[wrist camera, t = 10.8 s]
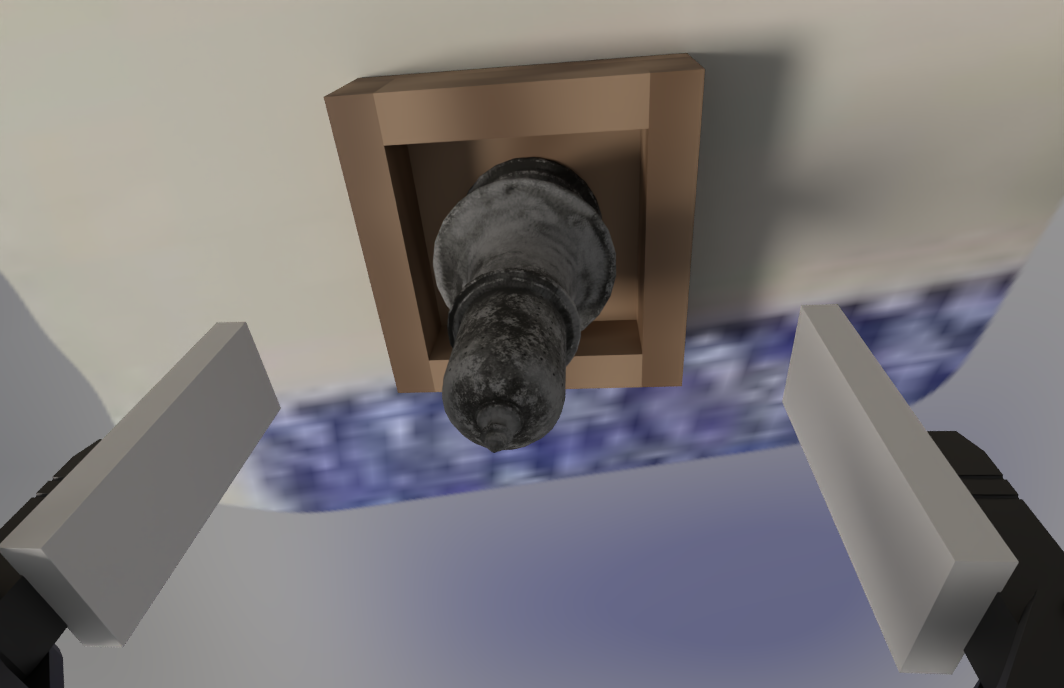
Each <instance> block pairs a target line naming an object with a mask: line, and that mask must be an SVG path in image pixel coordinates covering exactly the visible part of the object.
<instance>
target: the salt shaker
mask: <svg viewBox="0 0 1064 688" xmlns="http://www.w3.org/2000/svg"><path fill="white" fill-rule="evenodd" d="M433 268H434V273H435V278H436V283H437V287H438V289H439V291H440V293H441V295H442V297H443V299H444V301H445V303H446V305H447V306H448V307H449V309H450V311H449V315H448V324H447V330H448V336H449V341H450V344H451V346H452V348H453V349H452V352H451V355H450V359H449V362H448V365H447V368H446V371H445V374H444V378H443V386H442V399H443V404H444V409H445V412H446V414H447V416H448V418H449V419H450V421H451V423H452V424H453V425H454V426H455V427H456V428H457V429H458V430H459V432H460V433H461V434H462V435H464V436H465V437H466V438H468V439H469V440H471V441H472V442H474V443H475V444H478V445H481V446H483V447H486V448H487V449H489V450H490V451H491V452H493V453H495V452H498V451H501V450H513V449H517V448H521V447H525V446H527V445H529V444H531V443H533V442H535V441H537V440H539V439H541V438H543V437H544V436H545V435H546V434H547V433H548V432H549V431H551V430H552V429H553V427H554V425H555V424H556V422H557V421H558V419H559V417H560V415H561V412H562V409H563V405H564V401H565V387H566V366H567V365H568V364H569V363H570V362H571V360H572V358H573V357H574V355H575V354H576V352H577V350H578V346H579V342H580V338H581V331H582V330H584V329H585V328H586V327H587V326H588V325H589V324H590V323H591V322H592V321H593V320H595V319H596V318H597V317H598V316H599V315H600V313H601V311H602V310H603V308H604V306H605V305H606V303H607V301H608V300H609V298H610V296H611V293H612V289H613V285H614V282H615V278H616V252H615V248H614V245H613V242H612V239H611V236H610V233H609V230H608V228H607V227H606V225H605V224H604V222H603V221H602V215H601V211H600V208H599V205H598V202H597V199H596V197H595V195H594V194H593V192H592V191H591V189H590V188H589V186H588V185H587V183H586V182H585V181H584V180H583V179H582V178H581V177H579V176H578V175H577V174H576V173H575V172H574V171H573V170H571V169H570V168H568V167H566V166H564V165H561V164H559V163H557V162H555V161H553V160H548V159H543V158H537V157H525V158H514V159H511V160H508V161H505V162H503V163H500V164H497V165H495V166H494V167H492V168H491V169H489V170H488V171H487V172H485V173H484V174H482V175H481V176H480V177H479V178H478V179H477V181H476V182H475V183H474V185H473V186H472V187H471V188H470V190H469V191H468V193H467V196H466V197H464V198H463V199H462V200H460V201H459V202H458V203H457V204H456V205H455V207H454V208H453V209H452V210H451V212H450V213H449V214H448V215H447V217H446V218H445V219H444V221H443V223H442V225H441V228H440V230H439V233H438V235H437V238H436V240H435V245H434V256H433Z"/></svg>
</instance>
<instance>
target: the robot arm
mask: <svg viewBox="0 0 1064 688" xmlns="http://www.w3.org/2000/svg"><path fill="white" fill-rule="evenodd" d="M782 402H783V404H784V407H785V409H786V411H787V414H788V416H789V418H790V421H791V423H792V425H793V428H794V430H795V432H796V434H797V437H798V439H799V441H800V444H801V446H802V448H803V451H804V453H805V455H806V458H807V460H808V462H809V464H810V467H811V469H812V471H813V474H814V476H815V478H816V481H817V483H818V485H819V488H820V490H821V492H822V494H823V497H824V499H825V501H826V504H827V506H828V508H829V510H830V513H831V515H832V518H833V520H834V522H835V525H836V527H837V529H838V532H839V534H840V536H841V538H842V541H843V543H844V545H845V548H846V550H847V552H848V555H849V557H850V559H851V562H852V564H853V566H854V569H855V571H856V573H857V575H858V578H859V580H860V582H861V585H862V587H863V589H864V592H865V594H866V596H867V599H868V601H869V603H870V606H871V608H872V610H873V612H874V615H875V617H876V619H877V622H878V624H879V626H880V628H881V631H882V633H883V635H884V638H885V640H886V642H887V645H888V647H889V649H890V652H891V654H892V656H893V659H894V661H895V663H896V666H897V668H898V670H899V672H900V673H926V674H953V672H954V670H955V669H956V667H957V665H958V664H959V662H960V660H961V659H962V657H963V655H964V654H966V656H967V658H968V660H969V662H970V663H971V665H972V667H973V669H974V671H975V673H976V674H977V676H978V678H979V680H978V682H977V683H976V685H975V687H974V688H1064V551H1063V550H1062V549H1061V548H1060V547H1059V545H1058V544H1057V543H1056V541H1055V540H1054V539H1053V538H1052V536H1051V535H1050V534H1049V533H1048V531H1047V530H1046V529H1045V528H1044V526H1043V525H1042V524H1041V523H1040V521H1039V520H1038V519H1037V518H1036V516H1035V515H1034V514H1033V512H1032V511H1031V510H1030V509H1029V507H1028V506H1027V505H1026V504H1025V502H1024V501H1023V500H1022V499H1019V498H1018V494H1017V492H1016V491H1015V490H1014V488H1013V487H1012V486H1011V484H1010V483H1009V482H1008V481H1007V480H1004V479H1003V474H1002V473H1001V472H1000V471H999V469H998V468H997V467H996V465H995V464H994V463H993V462H992V460H991V459H990V458H989V457H988V455H987V454H986V453H985V452H984V451H983V450H982V449H980V448H979V447H978V446H976V445H975V444H973V443H972V442H971V441H969V440H968V439H966V438H965V437H964V436H962V435H961V434H959V433H958V432H957V431H926V430H925V428H924V427H923V425H922V424H921V423H920V421H919V420H918V418H917V417H916V415H915V414H914V412H913V411H912V410H911V408H910V407H909V405H908V404H907V402H906V401H905V400H904V398H903V397H902V395H901V394H900V393H899V391H898V390H897V388H896V387H895V385H894V384H893V383H892V381H891V380H890V378H889V377H888V376H887V374H886V373H885V371H884V370H883V368H882V367H881V366H880V364H879V363H878V361H877V360H876V358H875V357H874V356H873V354H872V353H871V351H870V350H869V349H868V347H867V346H866V344H865V343H864V341H863V340H862V339H861V337H860V336H859V334H858V333H857V331H856V330H855V329H854V327H853V326H852V324H851V323H850V322H849V320H848V319H847V317H846V316H845V314H844V313H843V312H842V310H841V309H840V307H839V306H838V304H830V305H801V309H800V315H799V320H798V325H797V330H796V335H795V340H794V345H793V350H792V355H791V360H790V365H789V370H788V375H787V380H786V385H785V390H784V395H783V400H782ZM280 409H281V407H280V405H279V402H278V400H277V397H276V395H275V393H274V390H273V388H272V385H271V383H270V380H269V378H268V375H267V373H266V370H265V368H264V365H263V363H262V360H261V358H260V355H259V353H258V350H257V348H256V346H255V343H254V341H253V338H252V336H251V333H250V331H249V328H248V326H247V323H246V322H222V323H216V324H215V325H214V326H213V327H212V328H211V329H210V330H209V331H208V332H207V333H206V334H205V335H204V336H203V337H202V338H201V339H200V340H199V341H198V342H197V343H196V344H195V345H194V346H193V347H192V348H191V349H190V350H189V351H188V352H187V354H186V355H185V356H184V357H183V358H182V359H181V360H180V361H179V362H178V363H177V364H176V365H175V366H174V367H173V368H172V369H171V370H170V371H169V372H168V373H167V374H166V375H165V376H164V377H163V378H162V379H161V380H160V381H159V382H158V383H157V384H156V385H155V386H154V387H153V388H152V389H151V390H150V391H149V392H148V393H147V394H146V395H145V396H144V397H143V398H142V399H141V400H140V401H139V402H138V404H137V405H136V406H135V407H134V408H133V409H132V410H131V411H130V412H129V413H128V414H127V415H126V416H125V417H124V418H123V419H122V420H121V421H120V422H119V423H118V424H117V425H116V426H115V427H114V428H113V429H112V430H111V431H110V432H109V433H108V434H107V435H106V436H105V437H104V438H103V439H99V440H98V441H96V442H95V443H93V444H91V445H90V446H88V447H87V448H85V449H84V450H82V451H81V452H79V453H78V454H76V455H75V456H73V457H72V458H71V459H70V460H69V461H68V462H67V463H66V464H65V465H64V466H63V467H62V468H61V469H60V470H59V471H58V472H57V473H56V474H55V475H54V476H53V480H52V481H48V482H47V483H46V484H45V485H44V486H43V487H42V488H41V489H40V490H39V491H38V492H37V493H36V494H37V495H36V497H35V498H31V499H30V500H29V501H28V502H27V503H26V504H25V505H24V506H23V507H22V508H21V509H20V510H19V511H18V512H17V513H16V514H15V515H14V516H13V517H12V518H11V519H10V520H9V521H8V522H7V523H6V524H5V525H4V526H3V527H2V528H1V529H0V688H64V674H63V657H62V654H61V652H60V649H59V648H58V647H57V646H56V645H55V642H56V641H57V640H58V638H59V637H60V636H61V634H62V633H63V632H64V630H65V629H66V628H68V629H69V630H70V631H71V632H72V633H73V634H74V635H75V636H76V638H77V639H78V640H79V641H80V642H81V643H82V644H83V645H84V646H99V647H124V645H125V644H126V642H127V641H128V639H129V638H130V636H131V635H132V633H133V632H134V630H135V628H136V627H137V625H138V624H139V622H140V621H141V619H142V618H143V616H144V615H145V613H146V612H147V610H148V609H149V607H150V606H151V604H152V603H153V601H154V600H155V598H156V597H157V595H158V594H159V592H160V590H161V589H162V588H163V586H164V585H165V583H166V581H167V580H168V578H169V577H170V575H171V574H172V572H173V571H174V569H175V568H176V566H177V565H178V563H179V562H180V560H181V559H182V557H183V556H184V554H185V553H186V551H187V550H188V548H189V547H190V545H191V544H192V542H193V540H194V539H195V538H196V536H197V534H198V533H199V531H200V530H201V528H202V527H203V525H204V524H205V522H206V521H207V519H208V518H209V516H210V515H211V513H212V512H213V510H214V509H215V507H216V506H217V504H218V503H219V501H220V500H221V498H222V497H223V495H224V494H225V492H226V491H227V489H228V487H229V486H230V484H231V483H232V481H233V480H234V478H235V477H236V475H237V474H238V472H239V471H240V469H241V468H242V466H243V465H244V463H245V462H246V460H247V459H248V457H249V456H250V454H251V453H252V451H253V450H254V448H255V447H256V445H257V444H258V442H259V440H260V439H261V437H262V436H263V434H264V433H265V431H266V430H267V428H268V427H269V425H270V424H271V422H272V421H273V419H274V418H275V416H276V415H277V413H278V412H279V410H280Z"/></svg>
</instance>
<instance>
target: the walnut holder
mask: <svg viewBox="0 0 1064 688" xmlns="http://www.w3.org/2000/svg"><path fill="white" fill-rule="evenodd" d="M704 76H705V69H704V68H703V67H702V66H701V65H700V64H699V63H697V62H696V61H695V60H694V59H693V58H692V57H691V56H689V55H688V54H687V53H681V54H668V55H655V56H641V57H628V58H615V59H602V60H589V61H576V62H563V63H550V64H536V65H523V66H510V67H497V68H484V69H471V70H458V71H445V72H431V73H418V74H405V75H392V76H379V77H366V78H357V79H356V80H354V81H352V82H350V83H348V84H347V85H345V86H343V87H341V88H339V89H337V90H336V91H334V92H332V93H330V94H328V95H327V96H325V97H324V100H325V104H326V108H327V112H328V116H329V120H330V124H331V128H332V132H333V136H334V140H335V144H336V148H337V152H338V156H339V160H340V164H341V168H342V172H343V176H344V180H345V183H346V187H347V191H348V195H349V199H350V203H351V207H352V211H353V215H354V219H355V223H356V227H357V231H358V235H359V239H360V243H361V247H362V251H363V255H364V259H365V263H366V267H367V271H368V275H369V279H370V283H371V287H372V291H373V295H374V299H375V303H376V307H377V311H378V315H379V319H380V323H381V327H382V331H383V334H384V338H385V342H386V346H387V350H388V354H389V358H390V362H391V366H392V370H393V374H394V378H395V382H396V386H397V390H398V393H413V392H442V386H443V378H444V374H445V371H446V368H447V365H448V362H449V359H450V355H451V352H452V349H453V348H452V346H451V344H450V341H449V336H448V330H447V324H448V315H449V311H450V309H449V307H448V306H447V305H446V303H445V301H444V299H443V297H442V295H441V293H440V291H439V289H438V287H437V283H436V278H435V273H434V268H433V256H434V245H435V240H436V238H437V235H438V233H439V230H440V228H441V225H442V223H443V221H444V219H445V218H446V217H447V215H448V214H449V213H450V212H451V210H452V209H453V208H454V207H455V205H456V204H457V203H458V202H459V201H460V200H462V199H463V198H464V197H466V196H467V193H468V191H469V190H470V188H471V187H472V186H473V185H474V183H475V182H476V181H477V179H478V178H479V177H480V176H481V175H482V174H484V173H485V172H487V171H488V170H489V169H491V168H492V167H494V166H495V165H497V164H500V163H503V162H505V161H508V160H511V159H514V158H525V157H537V158H543V159H548V160H553V161H555V162H557V163H559V164H561V165H564V166H566V167H568V168H570V169H571V170H573V171H574V172H575V173H576V174H577V175H578V176H579V177H581V178H582V179H583V180H584V181H585V182H586V183H587V185H588V186H589V188H590V189H591V191H592V192H593V194H594V195H595V197H596V199H597V202H598V205H599V208H600V211H601V215H602V221H603V222H604V224H605V225H606V227H607V228H608V230H609V233H610V236H611V239H612V242H613V245H614V248H615V252H616V278H615V282H614V285H613V289H612V293H611V296H610V298H609V300H608V301H607V303H606V305H605V306H604V308H603V310H602V311H601V313H600V315H599V316H598V317H597V318H596V319H595V320H593V321H592V322H591V323H590V324H589V325H588V326H587V327H586V328H585V329H584V330H582V331H581V338H580V342H579V346H578V350H577V352H576V354H575V355H574V357H573V358H572V360H571V362H570V363H569V364H568V365H567V366H566V387H565V389H582V388H624V387H666V386H682V376H683V362H684V349H685V335H686V321H687V308H688V294H689V281H690V267H691V253H692V240H693V226H694V212H695V199H696V185H697V172H698V158H699V144H700V131H701V117H702V104H703V90H704Z"/></svg>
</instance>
